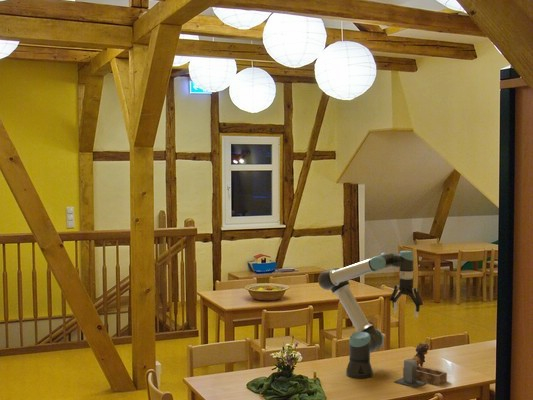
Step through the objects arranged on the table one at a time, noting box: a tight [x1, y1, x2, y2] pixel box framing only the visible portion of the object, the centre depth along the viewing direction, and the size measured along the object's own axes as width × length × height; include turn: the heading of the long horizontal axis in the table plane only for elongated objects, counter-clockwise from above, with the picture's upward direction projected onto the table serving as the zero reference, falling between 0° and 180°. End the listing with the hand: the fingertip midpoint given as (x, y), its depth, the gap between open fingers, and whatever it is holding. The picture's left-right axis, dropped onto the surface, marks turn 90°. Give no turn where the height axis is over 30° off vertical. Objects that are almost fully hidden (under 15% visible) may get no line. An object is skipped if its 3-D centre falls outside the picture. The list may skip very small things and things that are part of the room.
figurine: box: [410, 342, 430, 367], centre depth 400 cm, size 7×22×15 cm, turn 137°
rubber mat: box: [393, 376, 427, 389], centre depth 377 cm, size 14×10×1 cm
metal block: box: [403, 358, 417, 384], centre depth 377 cm, size 5×5×12 cm
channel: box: [402, 365, 448, 386], centre depth 384 cm, size 22×9×5 cm, turn 47°
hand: (405, 315), depth 388 cm, fingers open, 13 cm apart
